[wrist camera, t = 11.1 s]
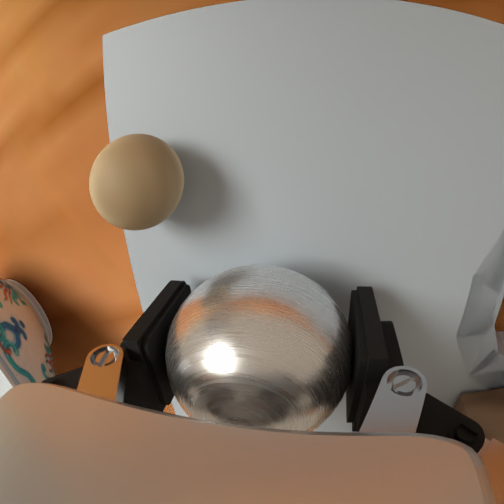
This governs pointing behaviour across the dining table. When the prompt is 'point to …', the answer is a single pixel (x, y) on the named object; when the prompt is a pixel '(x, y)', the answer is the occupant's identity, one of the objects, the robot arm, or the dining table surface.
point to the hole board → (332, 163)
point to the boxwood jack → (136, 182)
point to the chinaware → (23, 338)
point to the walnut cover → (485, 411)
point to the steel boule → (260, 350)
